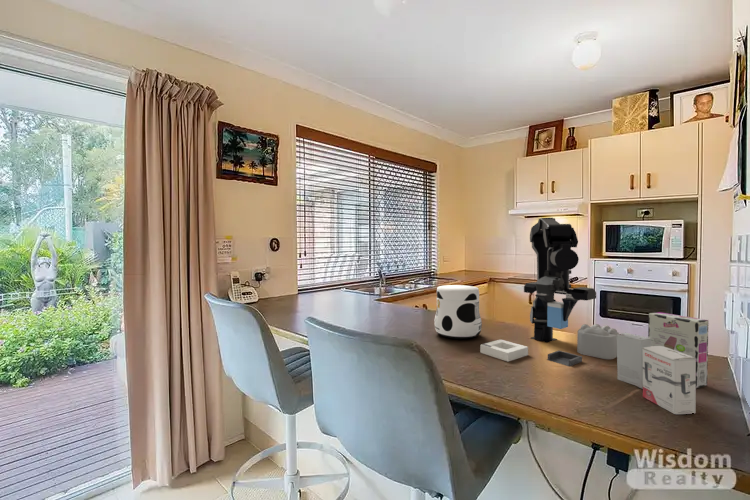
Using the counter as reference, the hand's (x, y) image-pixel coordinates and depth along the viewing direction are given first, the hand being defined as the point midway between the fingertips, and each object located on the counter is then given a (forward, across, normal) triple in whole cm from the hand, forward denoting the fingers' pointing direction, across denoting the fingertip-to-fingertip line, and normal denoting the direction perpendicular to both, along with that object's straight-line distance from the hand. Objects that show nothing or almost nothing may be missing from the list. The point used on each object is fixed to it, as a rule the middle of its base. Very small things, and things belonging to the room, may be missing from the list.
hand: (557, 319), depth 105 cm
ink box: (+13, +28, -8) cm, 32 cm away
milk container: (+13, -36, -2) cm, 39 cm away
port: (+12, -13, -8) cm, 19 cm away
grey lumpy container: (+13, +4, +18) cm, 22 cm away
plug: (+2, 0, 0) cm, 2 cm away
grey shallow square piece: (+12, +2, +1) cm, 13 cm away
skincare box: (+13, +20, 0) cm, 23 cm away
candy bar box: (+13, +25, +12) cm, 30 cm away
